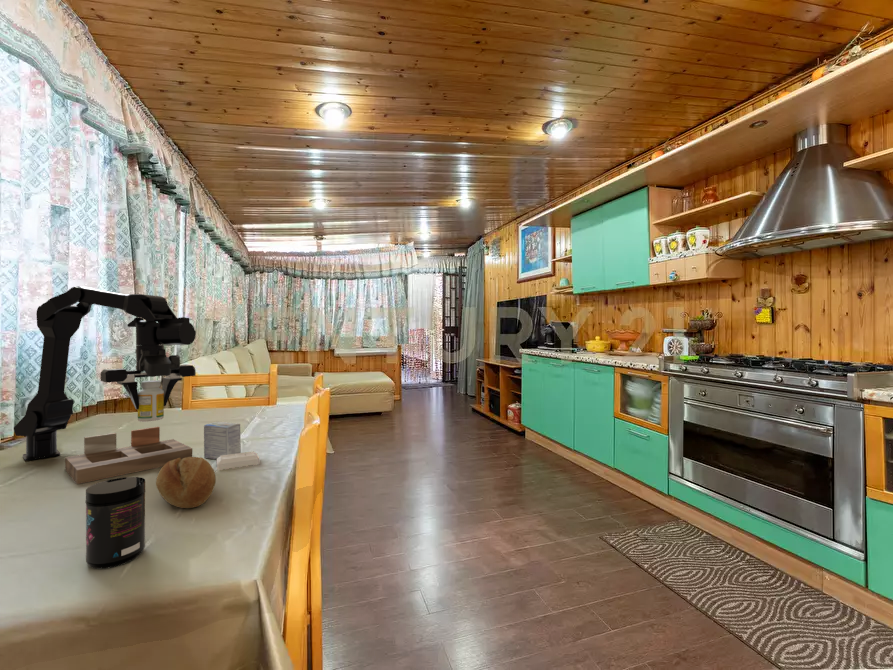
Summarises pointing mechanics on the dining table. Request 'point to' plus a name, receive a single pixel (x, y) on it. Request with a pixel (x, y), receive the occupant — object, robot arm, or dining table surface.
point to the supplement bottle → (150, 401)
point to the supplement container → (115, 521)
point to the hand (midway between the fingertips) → (150, 407)
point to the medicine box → (221, 439)
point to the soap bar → (237, 460)
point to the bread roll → (186, 482)
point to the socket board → (123, 455)
